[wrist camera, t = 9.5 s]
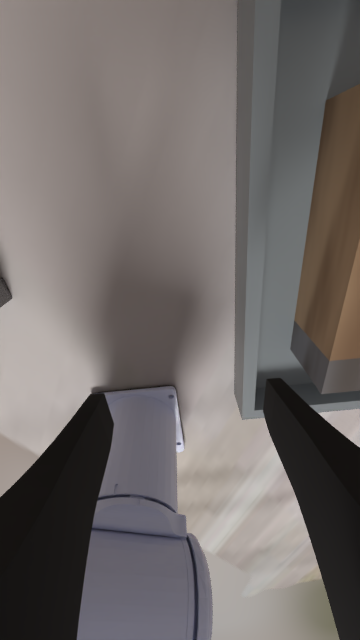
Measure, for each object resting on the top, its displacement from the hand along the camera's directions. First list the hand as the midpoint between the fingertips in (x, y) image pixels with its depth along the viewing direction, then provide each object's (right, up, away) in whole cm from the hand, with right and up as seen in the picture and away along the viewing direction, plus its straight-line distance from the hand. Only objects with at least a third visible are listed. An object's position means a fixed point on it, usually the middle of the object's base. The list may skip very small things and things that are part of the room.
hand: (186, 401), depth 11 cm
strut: (+10, +8, +6) cm, 14 cm away
